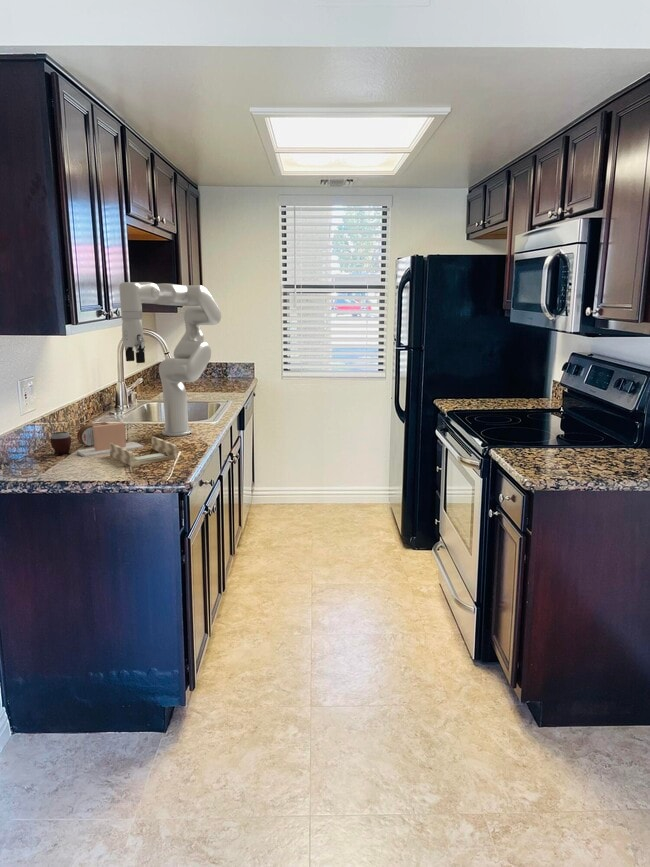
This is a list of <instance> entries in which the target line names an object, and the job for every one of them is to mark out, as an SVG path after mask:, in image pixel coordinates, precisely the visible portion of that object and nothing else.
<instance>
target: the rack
mask: <svg viewBox="0 0 650 867" xmlns="http://www.w3.org/2000/svg"><path fill="white" fill-rule="evenodd" d="M109 446H110V453H109V456H110V457H111V458H114V459H116V460H118V461H120V462H121V463H124V464H126V465H128V466H130V467H135V466H140V465H146V464H151V463H157V462H162V461H168V460H173V459H178V447H177V444H174V443H172V442H170V441H167V440H164V439H161V438H159V437H156V436H151V450H153V451H157V453H155V454H159V453H161V454H164V455H165V456H163V457H158V458H152V459H146V460H141V461H135V462H134V458H135V457H136V456H135V457H134V452H133V451H131V450H126V449H124V448H122V447H120V446H118V445H115V444H113V443H109ZM153 454H154V453H151V454H149V455H153ZM147 455H148V454H146V455H143V456H147ZM141 456H142V455H140V456H138V457H141Z"/></svg>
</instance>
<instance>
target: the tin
mask: <svg viewBox="0 0 650 867" xmlns="http://www.w3.org/2000/svg"><path fill="white" fill-rule="evenodd" d="M106 424H109V422H105V421H102V422H97V423H89V424H85V425H83V426H81V427H80V428H79V429H78V431H77V434H76V439H77V441H78V443H79V445H81V446H84V447H93V446H94V437H93V426H98V425H106Z"/></svg>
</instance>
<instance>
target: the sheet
mask: <svg viewBox="0 0 650 867" xmlns="http://www.w3.org/2000/svg"><path fill="white" fill-rule="evenodd" d="M125 429H126V428H125V423H124V422H114V423H108V424H106V425H98V426H93V437H94V448H95V450H96V451H101V450H107V449H110V446H109V443H113V444H115V445H118V446H120V447H126V443H127V440H126V431H125Z"/></svg>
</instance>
